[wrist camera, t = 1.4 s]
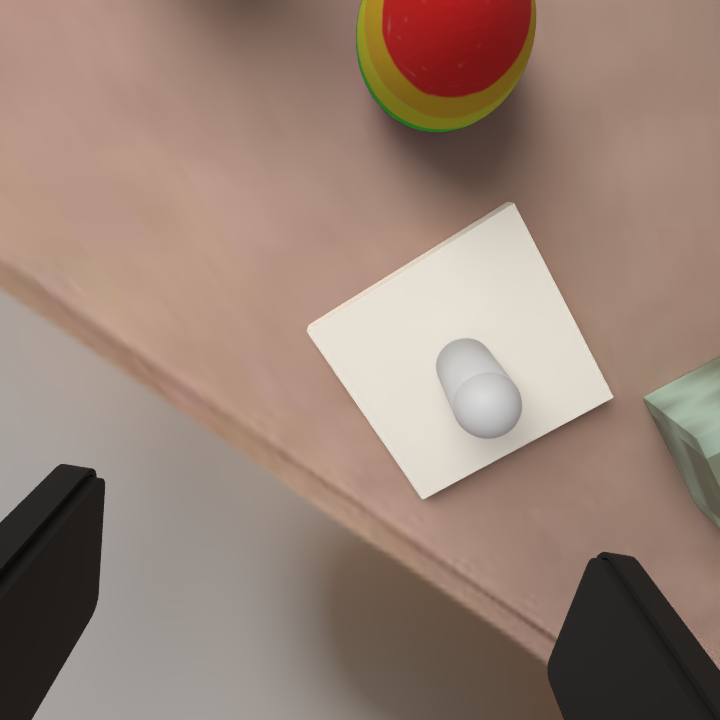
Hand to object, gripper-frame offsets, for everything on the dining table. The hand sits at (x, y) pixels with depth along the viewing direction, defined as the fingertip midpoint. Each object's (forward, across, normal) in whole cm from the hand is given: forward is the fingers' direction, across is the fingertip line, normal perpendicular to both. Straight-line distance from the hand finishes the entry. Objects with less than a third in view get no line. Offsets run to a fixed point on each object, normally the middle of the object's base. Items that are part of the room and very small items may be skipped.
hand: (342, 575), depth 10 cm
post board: (+25, -8, +2) cm, 26 cm away
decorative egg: (+25, -2, -14) cm, 29 cm away
